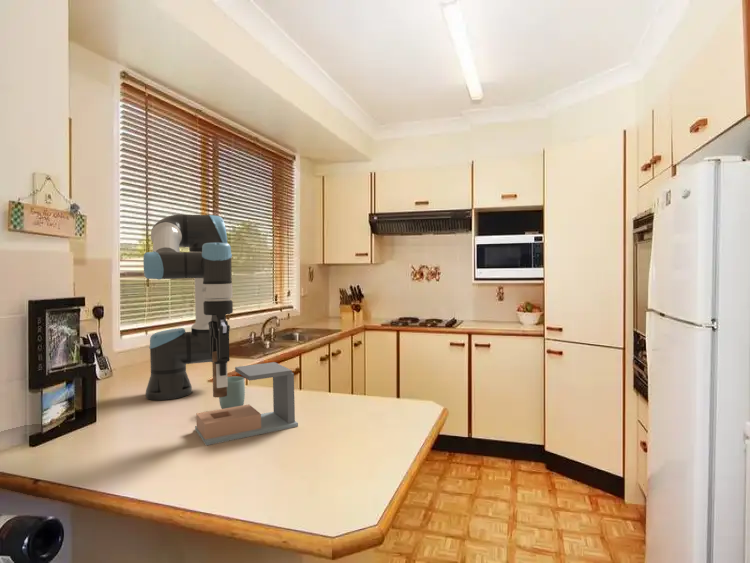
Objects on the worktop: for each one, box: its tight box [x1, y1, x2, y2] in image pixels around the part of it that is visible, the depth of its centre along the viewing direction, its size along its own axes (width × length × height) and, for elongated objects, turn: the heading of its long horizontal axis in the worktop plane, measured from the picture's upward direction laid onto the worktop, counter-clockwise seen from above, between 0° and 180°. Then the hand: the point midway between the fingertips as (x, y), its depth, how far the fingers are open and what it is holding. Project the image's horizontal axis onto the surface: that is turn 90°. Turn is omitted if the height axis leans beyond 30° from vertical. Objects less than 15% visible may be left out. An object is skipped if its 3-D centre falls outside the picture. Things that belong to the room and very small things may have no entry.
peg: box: [211, 351, 227, 398], centre depth 126 cm, size 4×4×12 cm
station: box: [194, 361, 299, 446], centre depth 130 cm, size 14×25×16 cm, turn 122°
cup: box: [218, 376, 246, 409], centre depth 147 cm, size 8×8×10 cm
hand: (220, 385), depth 126 cm, fingers closed on peg, 3 cm apart
